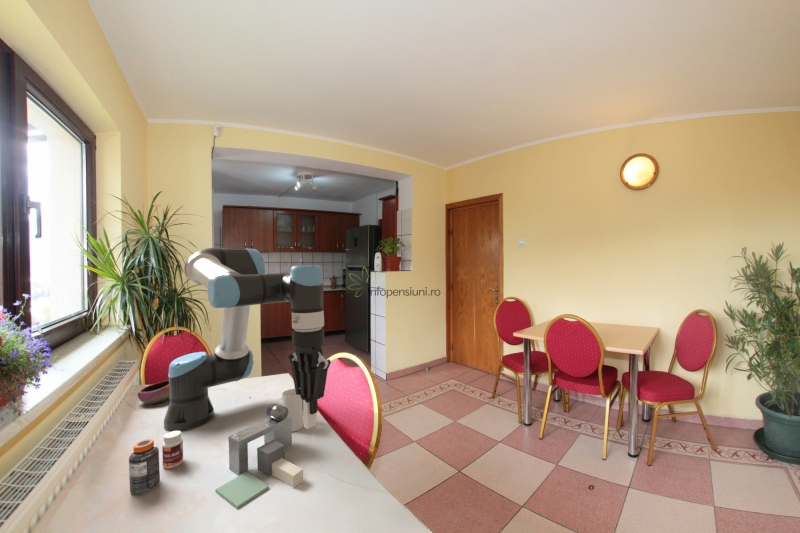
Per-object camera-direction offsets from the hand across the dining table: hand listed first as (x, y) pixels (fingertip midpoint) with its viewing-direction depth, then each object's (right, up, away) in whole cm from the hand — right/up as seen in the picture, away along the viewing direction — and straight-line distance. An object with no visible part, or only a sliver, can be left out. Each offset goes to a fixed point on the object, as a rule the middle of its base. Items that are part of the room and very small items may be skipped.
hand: (310, 425), depth 78 cm
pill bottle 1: (-43, -17, +3) cm, 46 cm away
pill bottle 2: (-42, -17, +13) cm, 47 cm away
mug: (-14, -17, +33) cm, 39 cm away
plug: (-10, -16, +7) cm, 21 cm away
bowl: (-77, -18, +57) cm, 98 cm away
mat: (-17, -17, +1) cm, 24 cm away
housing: (-18, -16, +15) cm, 29 cm away
